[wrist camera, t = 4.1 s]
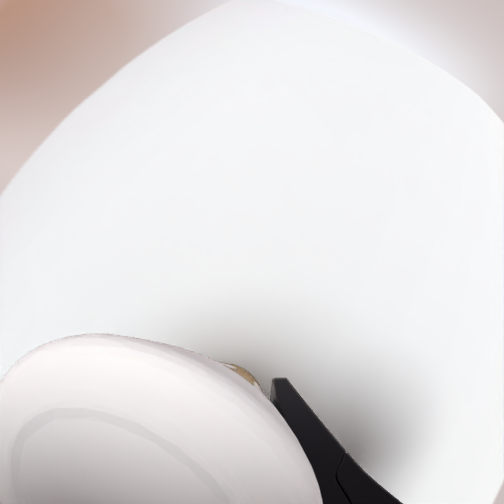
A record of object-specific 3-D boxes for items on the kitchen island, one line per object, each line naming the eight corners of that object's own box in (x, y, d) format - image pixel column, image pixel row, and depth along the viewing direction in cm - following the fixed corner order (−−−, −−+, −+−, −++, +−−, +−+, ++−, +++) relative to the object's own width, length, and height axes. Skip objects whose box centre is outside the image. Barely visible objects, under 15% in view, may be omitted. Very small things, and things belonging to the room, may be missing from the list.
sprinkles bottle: (202, 348, 15) (40, 252, 3) (280, 385, 15) (413, 442, 2) (165, 418, 14) (-39, 495, 1) (241, 457, 13) (221, 657, 1)
